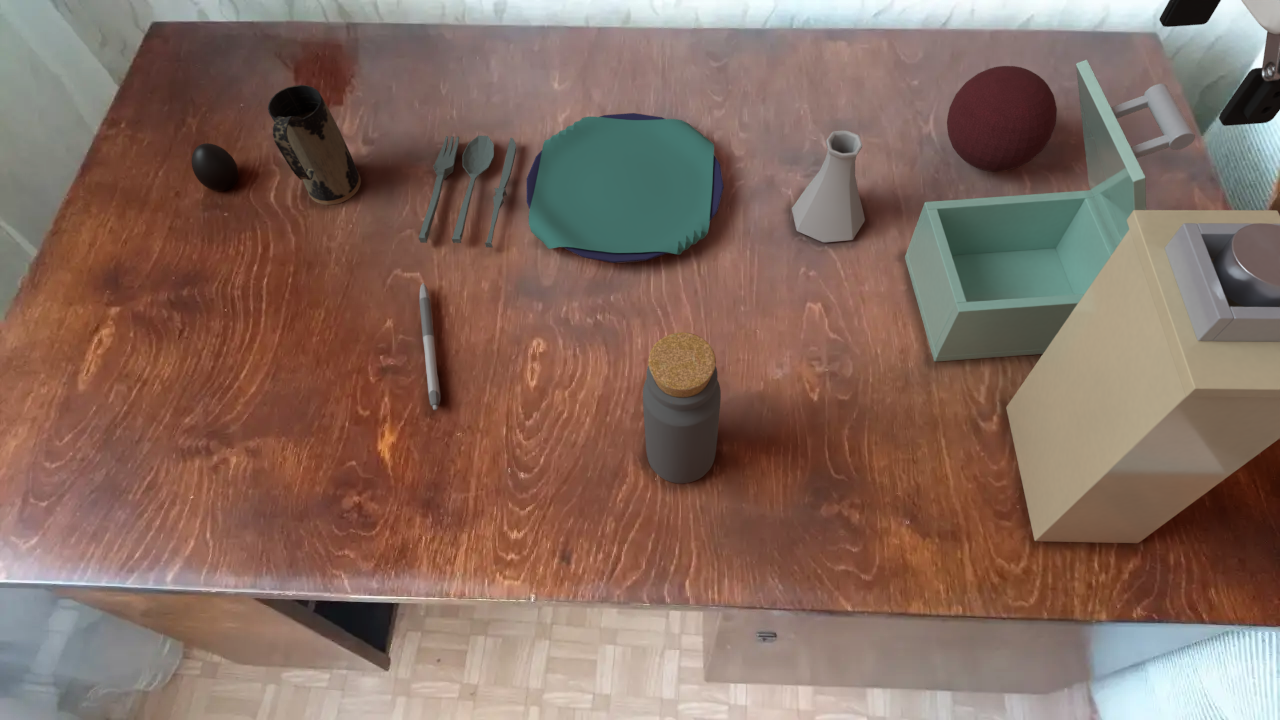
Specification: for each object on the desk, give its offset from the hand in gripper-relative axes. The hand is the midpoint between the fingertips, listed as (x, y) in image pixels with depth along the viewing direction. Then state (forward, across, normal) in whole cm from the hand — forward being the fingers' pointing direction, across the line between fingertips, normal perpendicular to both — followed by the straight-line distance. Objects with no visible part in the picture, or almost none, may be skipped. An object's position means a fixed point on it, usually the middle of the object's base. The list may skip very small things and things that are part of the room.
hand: (1211, 70), depth 57 cm
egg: (+26, +23, +81) cm, 89 cm away
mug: (+26, +20, +70) cm, 77 cm away
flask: (+26, +12, +19) cm, 35 cm away
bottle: (+27, -12, +36) cm, 47 cm away
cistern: (+27, -16, +5) cm, 32 cm away
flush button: (0, -17, +5) cm, 17 cm away
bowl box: (+26, +1, +6) cm, 27 cm away
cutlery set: (+26, +18, +44) cm, 54 cm away
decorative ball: (+26, +19, +2) cm, 32 cm away
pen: (+27, 0, +58) cm, 64 cm away
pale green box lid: (+11, 0, +2) cm, 11 cm away
